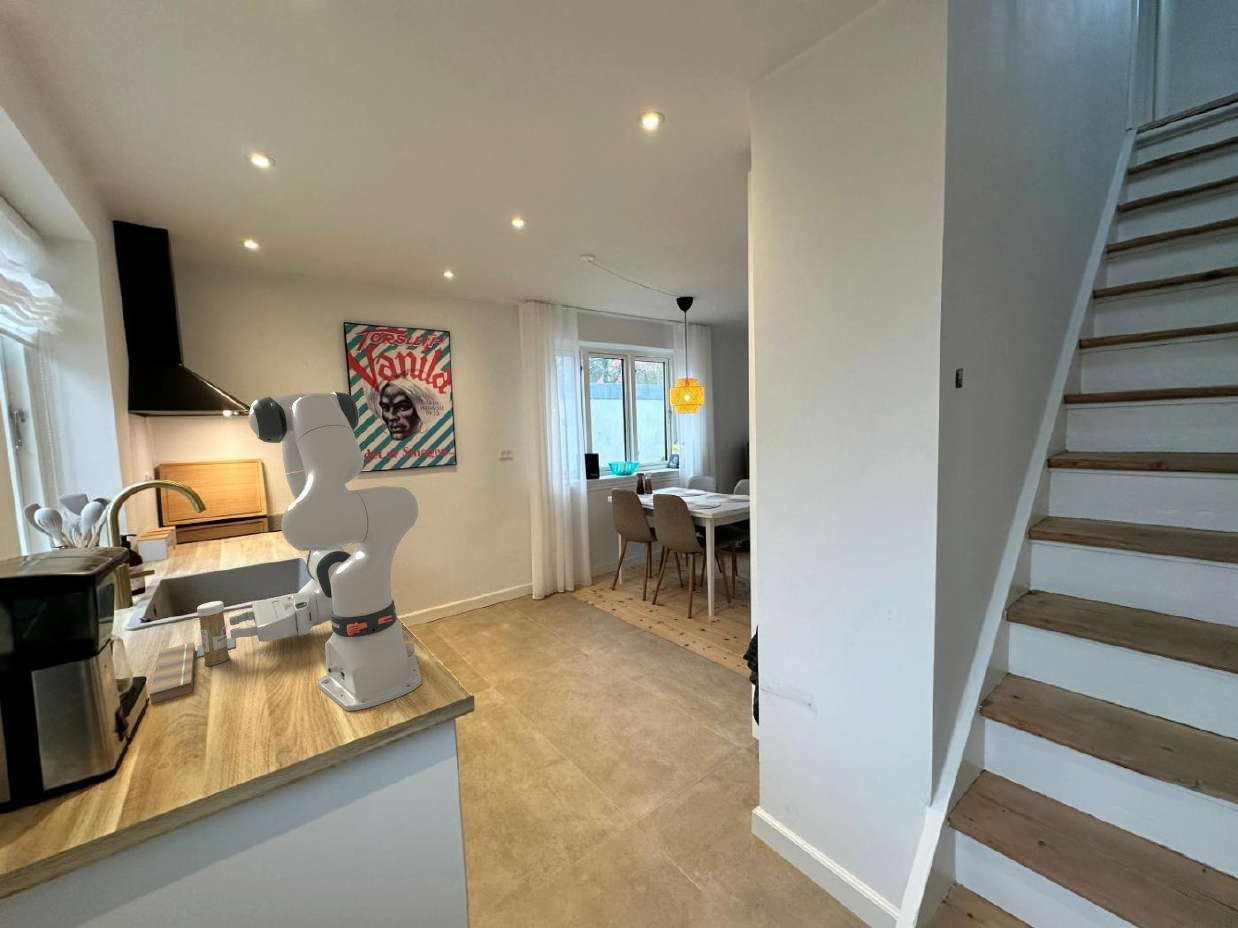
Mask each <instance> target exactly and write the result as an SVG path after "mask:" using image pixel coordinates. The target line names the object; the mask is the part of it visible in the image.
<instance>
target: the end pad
mask: <svg viewBox="0 0 1238 928" xmlns="http://www.w3.org/2000/svg"><path fill="white" fill-rule="evenodd" d="M227 642H228V644H227V646H228V651H229V650H232V649H236V648H237V647H236V638H235V639H232V638H231V637H229V638H228V637H227ZM202 657H204V651H203V647H202V644H200V645H198V646H197V655H196V658H202Z"/></svg>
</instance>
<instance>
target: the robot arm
mask: <svg viewBox="0 0 1238 928" xmlns="http://www.w3.org/2000/svg"><path fill="white" fill-rule="evenodd" d="M249 407H250V409H249V413H248V423H249V426H250V429H251V430H252V432H253V433H254V434H255V435H256V438H257V439H258V440H260V441H262V442H263V443H269V444H280V443H282V444H281V449H282V453H281V454H282V460H283V461H282V462H283V468H284V472H285V475H286V477H285V478H286V480H287V484H288V486H289V489H290V491H291V494H292V496H293V497H294V501H292V502H291V503H290V504H289V505H288V506H287V507H286V508H285V511H284V512H283V515H282V518H281V522H280V523H281V524H280V525H281V527H280V528H281V533H282V536H283V538H284V539H285V541H286V542H287V543H288V544H289V545H290V546H291V547H292V548H293V549H295V550H296V551H300V552H308V554H309V555H308V558H307V559H306V566H305V568H306V572H307V574H308V576H309V577H310V578H311V579H313V580H315V581H317V585H318V587H317V589H315V590H311V591H306V592H302V593H298V592H297V593H293V594H290V597H289V598H288V597H277V598H271V599H270V598H269V599H265V600H260V601H257V602H254V603H252V609H249V610H246V611H244V612H241V613H239V614H236V615H231V616H230V617H229V619H228V621H229V625H230V626H236V625H239V624H240V623H243V622H247V621H253V620H254V624H252V625H250V626H247V627H235V628H232V629H230V638H232V639H235V640H236V639H238V638H252V637H255V636H257V639H258V642H262V643H263V642H265V643H266V642H271V641H272V642H273V641H277V640H282V639H286V638H290V637H293V636H295V635H298V636H304V635H308V634H309V633H310V631H311V629H312V628H313V627H317V626H320V625H322V624H324V623H327V622H330V623H331V629H332V631H333V633H332V634H331V636H329V638H328V639H327V641H326V642H325V646H324V648H325V649H324V650H325V665H326V666H325V667H326V675H324V676H322V677H321V678H319V679H318V681H317V687H318V689H320V691H322V693H324V694H325V695H327V696H328V697H329V698H330V699H332V700H333V701H334V702H335V703H336V704H337V705H339V706H340V707H341V708H343V710H344V711H347V712H350V711H351V712H352V711H358V710H363V709H368V708H372V707H375V706H377V705H382V704H384V703H388V702H389V701H392V700H394V699H397V698H399V697H402V696H404V695H406V694H408V693H411V692H412V691H414V690H415V689H417V688H419V687H420V686H422V684H423V678H422V675H421V672H420V666H419V664H418V660H417V657H416V654H415V643H414V642H407V643H405V639H408V638H409V637H408V636H409V635H408V631H403V630H402V629H403V626H402V621H400V620H399V619H398V616H397V608H396V606H395V600H394V599H393V598H392V597H393V596H392V563H393V560H394V556H395V553H396V551H397V549H398V546H399V544H400V542H402V541H401V540H402V539H403V537H404V536H405V535H406V534H407V533H408V532H409V531H410V529H412V528H413V527H414V525H415V523H416V522H417V521H418V520H417V519H418V515H419V504H418V501H417V499H416V497H415V495H414V494H413V492H411V491H410V489H408V488H406V487H402V486H401V487H400V486H384V485H383V486H382V485H381V486H376V487H375V486H374V487H368V488H361V489H354V490H353V489H348V487H346V484H348V483H350V482H351V481H352V480H353V479H355V478H356V477H357V476H358V475H359V474H360V473H361V472H362V470H363V467H364V465H365V464H364V463H365V461H364V456H363V452H362V450H361V447H360V445H359V443H358V440H357V438H356V436H355V434H354V431H355V430H356V428H358V426H359V421H360V413H359V408H358V405H357V404H356V402H355V399H354V398H353V397H352V396H351V395H350V394H349V393H346V392H345V393H344V392H338V391H332V392H311V393H310V392H309V393H308V392H307V393H303V392H300V393H299V392H298V393H290V394H284V395H278V396H274V397H271V396H265V397H262V398H258V399H255V400H254V401H253V403H252V404H250V406H249ZM351 545H355V548H354V550H353V552H352V553H350V552H347V551H346V550H344V548H343V547H347V546H351Z"/></svg>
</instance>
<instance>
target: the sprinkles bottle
mask: <svg viewBox="0 0 1238 928" xmlns="http://www.w3.org/2000/svg"><path fill="white" fill-rule="evenodd" d="M196 609H197V610H196V611H197V616H198V618H199V627H200V628H199V631H200V639H201V645H202V647H203V651H204V656H203V658H204V662H203V663H204V665H205V666H208V667H211V666H217V665H219V664H222V663H225V662H226V661H228V660H229V659H230V654H229V653H230V652H229V650H228V646H227V644H228V642H227V639H228V634H227V626H226V623H225V615H224V614H225V613H224V610H225V606H224V602H223V601H220V600H215V601H210V602H206V603H202V604H200V605H198V606H197V608H196Z"/></svg>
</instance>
